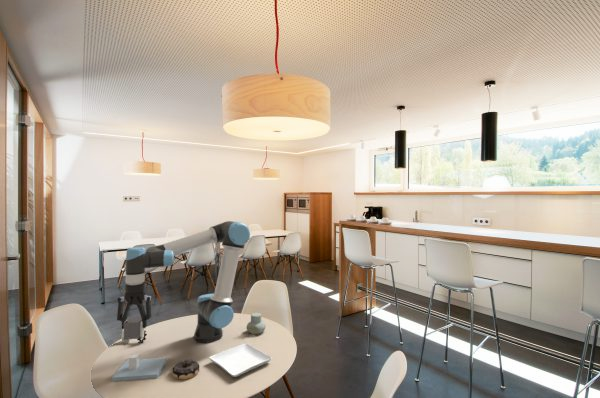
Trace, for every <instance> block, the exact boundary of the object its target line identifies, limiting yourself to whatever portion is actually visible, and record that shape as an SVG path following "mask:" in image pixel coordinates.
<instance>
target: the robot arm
mask: <svg viewBox="0 0 600 398" xmlns="http://www.w3.org/2000/svg"><path fill="white" fill-rule="evenodd" d="M250 236H251V231H250V229H249V227H248V225H246V223H243V222H240V221H231V220H230V221H229V220H227V221H224V222H221V223H218V224H215V225H213V226H210V227H209V228H208V229H207V230H203V231H201V232H197V233H195V234H191V235H188V236H184V237H181V238H178V239H175V240H172V241H168V242H166V243H163V244H160V245H156V246H149V247H147V248H145V247H142V246H141V247H139V246H135V247H134V246H133V247H129V248H128V249H127V250H126V253H125V254H126V255H125V256H126V257H125V285H124V287H125V289H124V292H125V294H124V295H123V296H119V297H118V298H117V299H116V300H117V302H118V303H117V315H116V316H117V317H116V321H119V322H121V329H122V330H123V329H124V323H125V322H126V321H127V320H128V316H129V313H130V311H131V307H132V306H133V305H136V306H137V308H138V312H139V314H140V318H142V321H141V322H140V337H142V336H144V331H145V329H146V328H147V326H148V325H147V322H148V320H150V319H151V318H152V303H151V301H152V297H153V296H152V295H147V294H146V293H145V285H146V284H145V281H146V280H145V277H146V276H145V275H146V269H153V268H154V269H155V268H162V267H163V268H165V267H171V266H172V265H173V264H174V261H175V256H179V255H181V254H184V253H186V252H190V251H192V250H195V249H198V248H202V247H203V246H207V245H210V244H218V243H221V246H222V248H223V251H222V255H221V262H220V267H219V270H218V275H217V280H216V285H215V288H214V289H215V290H214V292H213V293H207V294H202V295H200V296H198V298H197V303H196V304H197V324H196V327H195V330H194V333H193V340H194V341H195V342H197V343H202V344H206V343H213V342H216V341H219V340H220V339H222V337H223V334H224V333H223V328H225V327H227V326H228V325H230V323H232V321H233V319H234V316H235V313H234V310H233V308H232V307H233V302H234V301H233V298H232V297H231V296H232V292H233V291H232V290H233V288H234V282H235V278H236V272H237V268H238V264H239V263H238V262H239V257H240V254H241V251H243V250H244V249H245V245H246V244H247V243H248V241H249V240H250ZM143 300H145V307H144V302H143ZM125 301H126V305H124V303H125ZM124 306H125V310H124Z"/></svg>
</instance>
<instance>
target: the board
mask: <svg viewBox="0 0 600 398" xmlns="http://www.w3.org/2000/svg"><path fill="white" fill-rule="evenodd" d="M167 363H168V357H159V358H158V357H155V358H145V359H144V358H143V359H140V354H138V353H137V354H136V353H135V354H131V355H130V356H129V357H128V360H125V361H124V362H123V364H122V365H121V366H120V367H119V368H118V369H117V370H116V371H115V373H114V374H113V376H112V377H111V382H119V381H120V382H121V381H133V380H135V381H136V380H147V379H158V378H159V376H160V375H161V373H162V371H163V369H164V367H165V365H166V364H167Z"/></svg>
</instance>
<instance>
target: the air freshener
mask: <svg viewBox="0 0 600 398" xmlns="http://www.w3.org/2000/svg"><path fill="white" fill-rule="evenodd" d="M266 328H267V327H266V323H265V322H264V321H262V313H260V312H253V313H252V314H250V321H249V322H248V323H247V324H246V328H245V329H246V331H247V332H248V333H250V334H252V335H259V334H261V333H263V332H264V331H265V330H266ZM258 333H259V334H258Z"/></svg>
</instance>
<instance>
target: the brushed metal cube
mask: <svg viewBox="0 0 600 398" xmlns="http://www.w3.org/2000/svg"><path fill="white" fill-rule="evenodd" d="M126 320H127V321H126V322H125V323H124V339H130V340H133V339H134V340H137V339H139V338H140V322H141V321H142V318H141V317H129V318H127V319H126Z"/></svg>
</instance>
